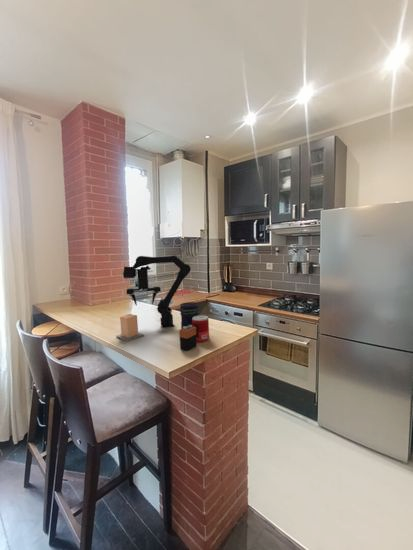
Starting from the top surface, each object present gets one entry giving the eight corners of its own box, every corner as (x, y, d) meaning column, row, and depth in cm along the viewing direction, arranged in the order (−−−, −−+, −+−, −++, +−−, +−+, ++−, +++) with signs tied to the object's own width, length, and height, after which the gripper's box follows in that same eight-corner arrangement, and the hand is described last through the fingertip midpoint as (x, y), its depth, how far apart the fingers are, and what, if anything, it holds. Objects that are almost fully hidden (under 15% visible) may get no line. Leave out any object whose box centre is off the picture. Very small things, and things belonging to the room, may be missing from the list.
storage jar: (203, 329, 140) (201, 302, 139) (194, 335, 131) (193, 306, 130) (187, 328, 144) (185, 301, 143) (177, 333, 135) (176, 305, 134)
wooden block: (131, 332, 138) (130, 314, 137) (138, 334, 134) (136, 315, 133) (121, 335, 133) (120, 316, 132) (128, 337, 130) (126, 318, 129)
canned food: (211, 337, 127) (210, 315, 126) (206, 343, 120) (205, 320, 119) (196, 336, 130) (195, 314, 129) (190, 341, 123) (189, 319, 121)
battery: (179, 349, 114) (178, 327, 113) (189, 344, 119) (188, 323, 118) (187, 351, 111) (186, 328, 110) (197, 346, 117) (196, 324, 116)
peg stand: (133, 332, 141) (133, 324, 141) (143, 336, 134) (143, 327, 134) (116, 337, 134) (115, 329, 133) (126, 341, 127) (125, 332, 126)
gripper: (157, 275, 158) (159, 300, 160) (125, 277, 153) (127, 303, 154) (159, 277, 148) (161, 304, 149) (125, 279, 142) (127, 307, 144)
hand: (144, 304), depth 149 cm, fingers open, 9 cm apart
